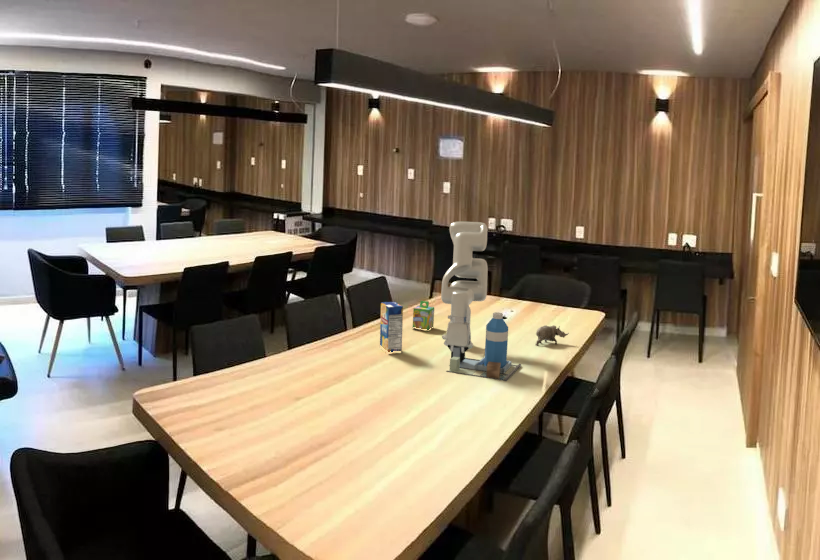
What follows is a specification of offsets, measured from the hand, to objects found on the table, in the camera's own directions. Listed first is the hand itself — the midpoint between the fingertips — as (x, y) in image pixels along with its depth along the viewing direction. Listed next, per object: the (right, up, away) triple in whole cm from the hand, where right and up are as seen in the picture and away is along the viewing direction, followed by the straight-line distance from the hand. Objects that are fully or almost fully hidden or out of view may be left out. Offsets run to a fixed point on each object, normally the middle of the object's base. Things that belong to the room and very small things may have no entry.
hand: (457, 360), depth 295 cm
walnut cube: (+13, -4, -17) cm, 22 cm away
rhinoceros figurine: (+48, +3, +41) cm, 63 cm away
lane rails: (+11, -4, -8) cm, 14 cm away
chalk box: (-14, +9, +64) cm, 66 cm away
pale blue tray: (+9, -3, -4) cm, 11 cm away
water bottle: (+15, -4, -6) cm, 17 cm away
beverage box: (-30, +2, +20) cm, 36 cm away
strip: (+1, -4, -12) cm, 13 cm away
